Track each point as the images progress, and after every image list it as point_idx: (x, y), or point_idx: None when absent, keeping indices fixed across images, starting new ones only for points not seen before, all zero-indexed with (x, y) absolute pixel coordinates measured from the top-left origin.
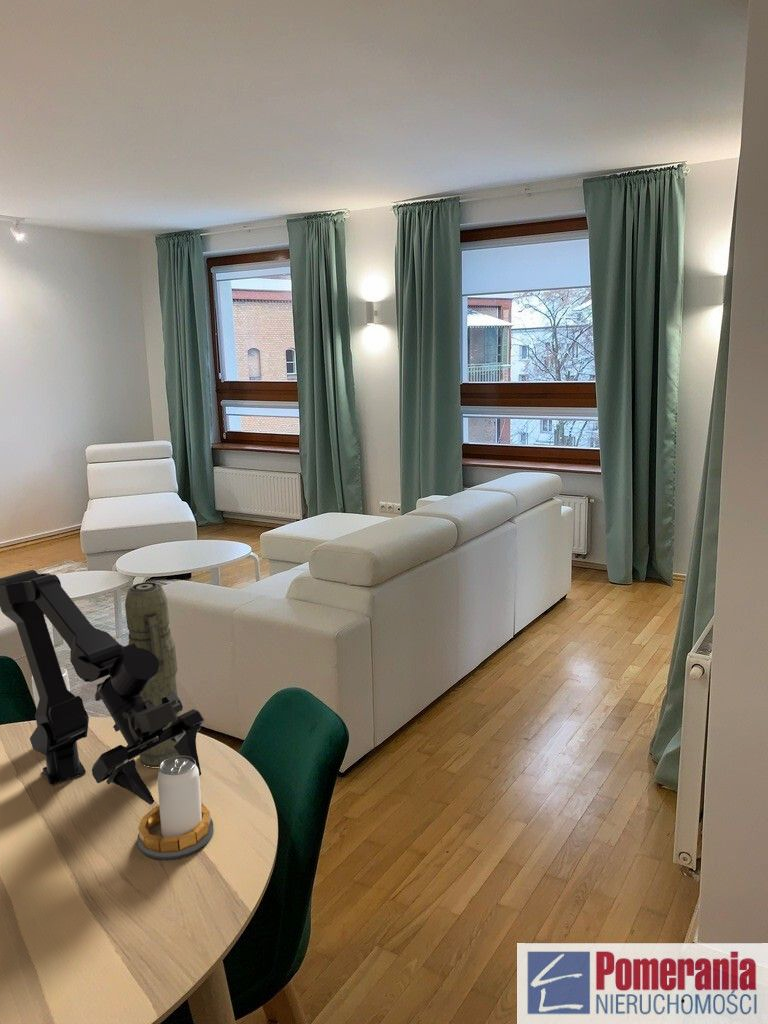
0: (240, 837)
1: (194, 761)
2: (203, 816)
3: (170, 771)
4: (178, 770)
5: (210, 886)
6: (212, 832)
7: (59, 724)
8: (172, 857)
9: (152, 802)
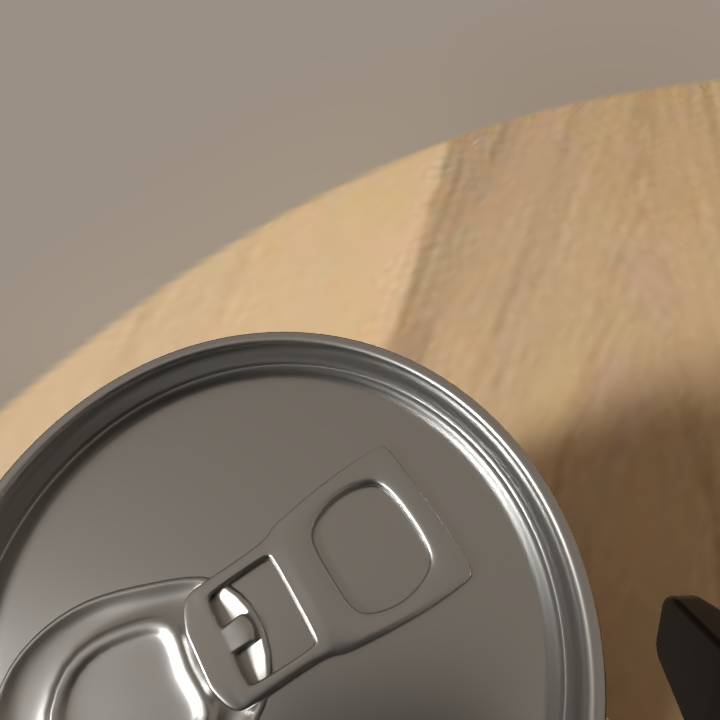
0: None
1: (25, 470)
2: None
3: (455, 570)
4: (346, 489)
5: (473, 282)
6: None
7: None
8: None
9: (690, 595)
